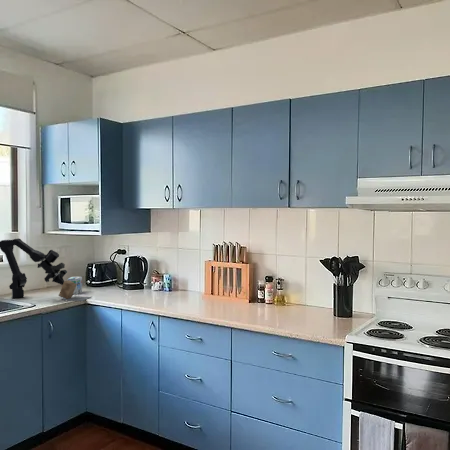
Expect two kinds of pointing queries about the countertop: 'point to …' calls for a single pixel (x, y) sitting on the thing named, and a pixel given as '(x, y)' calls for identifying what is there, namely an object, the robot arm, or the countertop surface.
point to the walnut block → (67, 289)
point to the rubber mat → (77, 298)
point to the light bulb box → (79, 284)
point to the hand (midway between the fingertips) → (64, 284)
